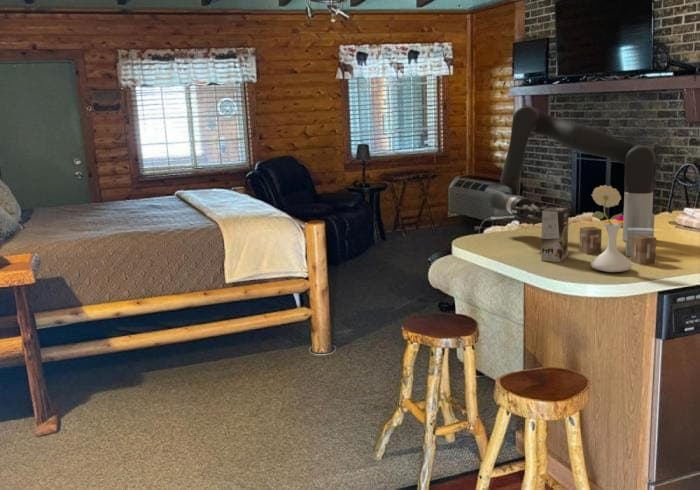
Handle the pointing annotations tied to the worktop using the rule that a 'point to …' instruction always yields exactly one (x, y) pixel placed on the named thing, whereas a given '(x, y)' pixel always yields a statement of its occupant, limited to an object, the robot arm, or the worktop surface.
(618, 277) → the worktop surface
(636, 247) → the walnut block one
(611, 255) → the flower in vase
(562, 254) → the coffee box
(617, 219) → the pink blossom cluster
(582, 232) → the walnut block seven
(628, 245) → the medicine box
